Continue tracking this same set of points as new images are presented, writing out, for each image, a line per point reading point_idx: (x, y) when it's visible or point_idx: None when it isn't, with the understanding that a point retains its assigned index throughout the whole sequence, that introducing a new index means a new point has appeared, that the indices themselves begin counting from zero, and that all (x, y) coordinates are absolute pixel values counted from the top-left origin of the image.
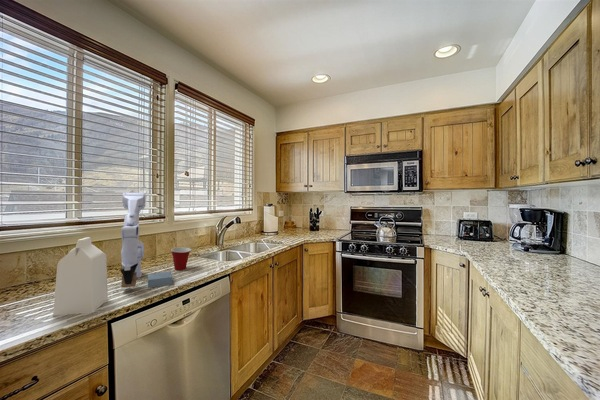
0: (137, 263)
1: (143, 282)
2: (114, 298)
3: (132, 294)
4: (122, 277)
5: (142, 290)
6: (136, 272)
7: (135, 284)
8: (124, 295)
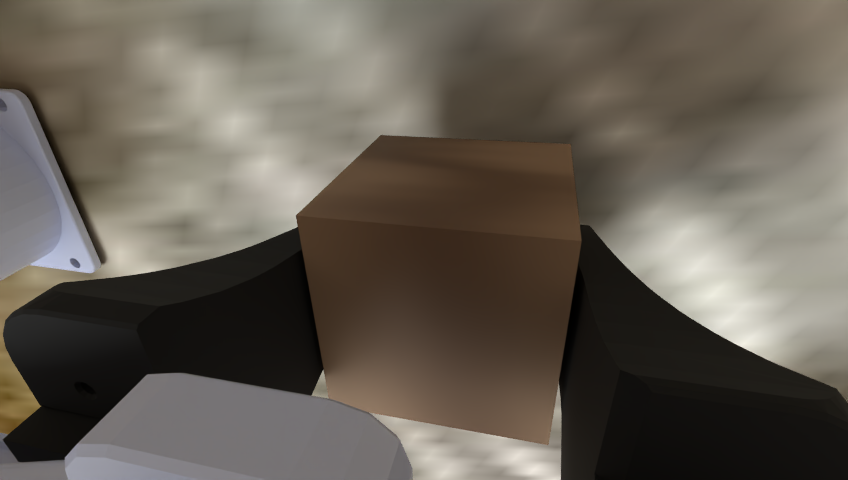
0: (41, 325)
1: (213, 33)
2: (735, 323)
3: (722, 144)
4: (550, 419)
5: (606, 9)
6: (333, 218)
7: (513, 145)
8: (692, 234)
